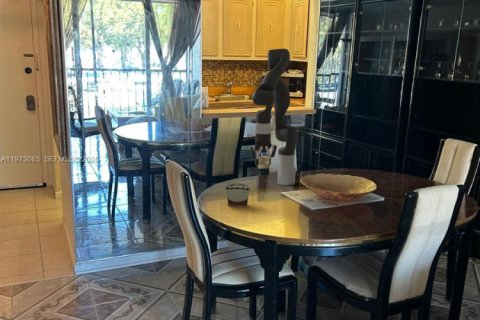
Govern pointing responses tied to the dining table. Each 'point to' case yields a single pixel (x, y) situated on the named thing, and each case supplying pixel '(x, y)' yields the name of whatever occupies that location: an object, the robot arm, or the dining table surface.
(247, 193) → the food container
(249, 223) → the dining table surface
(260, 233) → the dining table surface
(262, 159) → the beige cube
